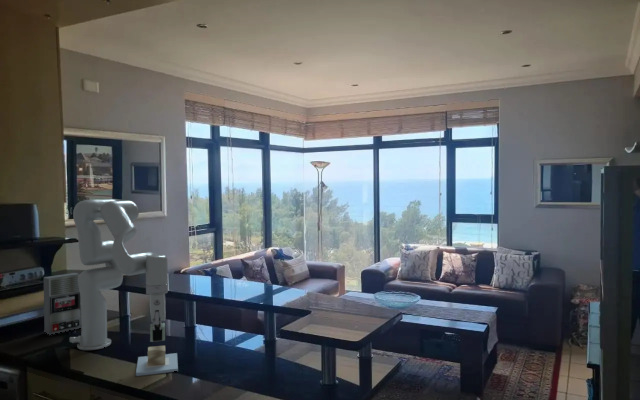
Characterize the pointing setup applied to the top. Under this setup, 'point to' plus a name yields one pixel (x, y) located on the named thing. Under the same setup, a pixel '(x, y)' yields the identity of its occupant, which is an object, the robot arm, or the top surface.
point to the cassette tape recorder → (62, 303)
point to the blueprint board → (169, 366)
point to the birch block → (156, 355)
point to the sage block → (162, 332)
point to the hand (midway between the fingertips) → (157, 337)
